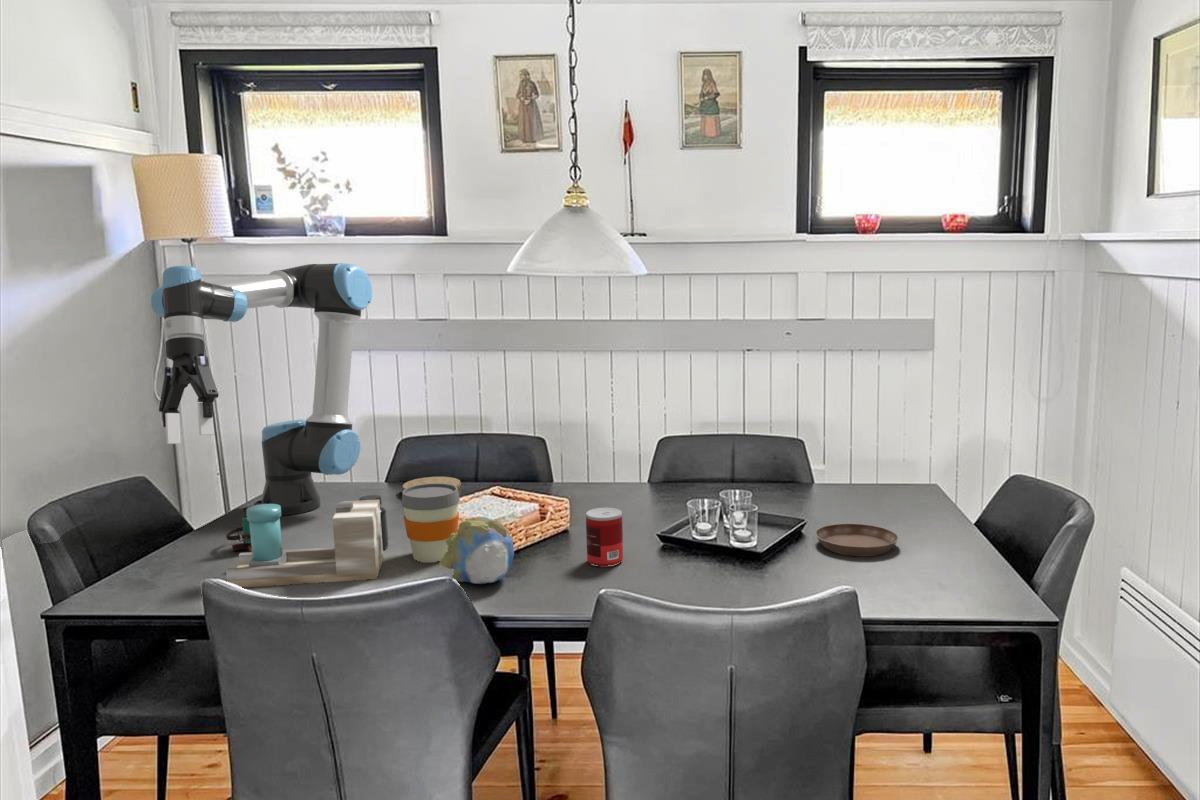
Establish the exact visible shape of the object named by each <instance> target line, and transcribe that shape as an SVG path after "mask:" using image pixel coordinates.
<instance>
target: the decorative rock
mask: <svg viewBox="0 0 1200 800" xmlns="http://www.w3.org/2000/svg"><path fill="white" fill-rule="evenodd" d="M446 543H447V545H448V546H449V547H448V552H445V554H444V557H442V558H440V562H439V564H440V565H441V566H442V567H444V568H447V569H450V570H452V569H453V575H452V576H451V579H452V578H454V579H456V580H457V581H459V582H458V583H465V582H466V583H470V584H475V585H476V584H477V585H486V584H487V583H489V584H492V583H496V582H497V581H499V580H501V579H502V578H504V576H505V575H506V573H508V572H509V568H511V565H512V563H513V561H514V555H515V547H514V542H513V539H512V537H511V534H510V533H509V530H508V529H507V528H506V527H505V525H504V524H503V523H501V522H500V521H499V520H496V519H492V518H488V517H487V516H472V517H471V518H468V519H466V520H463V521H461V522H460V523H458V530H457V532H456V533H452V534H451V535H450V537H449V538H448V539H447V540H446ZM487 585H488V584H487Z"/></svg>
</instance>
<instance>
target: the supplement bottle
mask: <svg viewBox="0 0 1200 800" xmlns="http://www.w3.org/2000/svg"><path fill="white" fill-rule="evenodd" d="M358 499H359V500H358V501H361V500H379V499H380V515H381V530H382V545H383V551H384V550H386V549H388V547H389V543H390V542H389V528H388V526H389V525H388V513H387V510H386V509H385V507H383V506H382V504H383V503H382V496H381V495H378V494H369V495H368V494H366V495H364V496H361V497H359V498H358Z"/></svg>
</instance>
